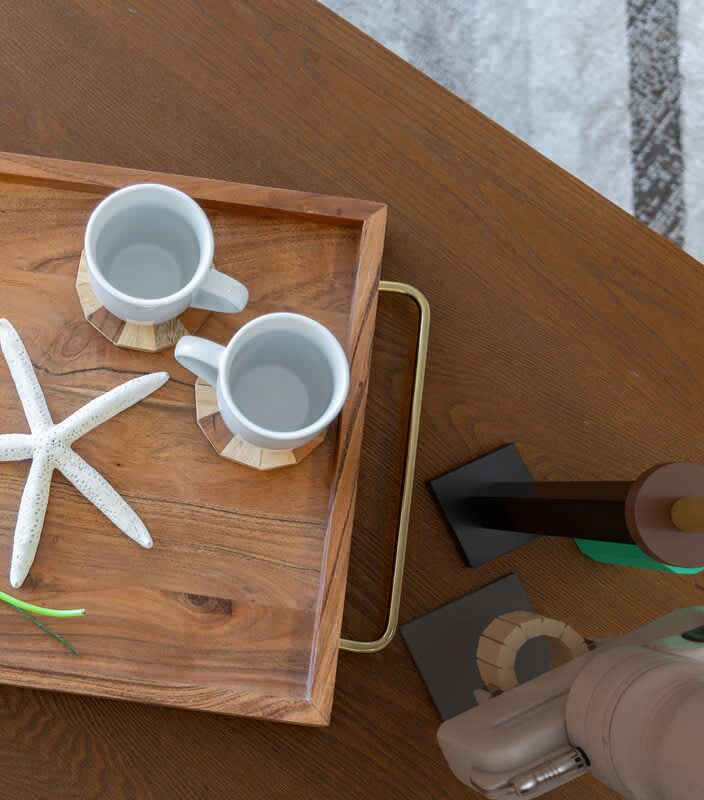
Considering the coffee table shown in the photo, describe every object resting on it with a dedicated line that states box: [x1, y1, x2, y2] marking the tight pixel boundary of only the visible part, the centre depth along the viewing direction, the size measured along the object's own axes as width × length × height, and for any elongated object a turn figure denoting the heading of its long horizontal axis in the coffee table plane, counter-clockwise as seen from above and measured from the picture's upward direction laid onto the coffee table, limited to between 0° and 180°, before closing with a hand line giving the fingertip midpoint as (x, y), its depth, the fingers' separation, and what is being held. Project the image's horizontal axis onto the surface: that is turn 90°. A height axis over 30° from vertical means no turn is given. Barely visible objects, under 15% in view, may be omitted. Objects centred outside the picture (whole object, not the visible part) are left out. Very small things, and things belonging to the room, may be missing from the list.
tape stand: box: [423, 442, 704, 570], centre depth 60 cm, size 8×8×31 cm
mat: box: [397, 571, 552, 723], centre depth 74 cm, size 10×11×1 cm
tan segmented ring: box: [476, 610, 589, 693], centre depth 65 cm, size 7×7×4 cm
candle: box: [573, 538, 704, 575], centre depth 69 cm, size 6×6×12 cm
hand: (535, 672), depth 65 cm, fingers closed on tan segmented ring, 7 cm apart
